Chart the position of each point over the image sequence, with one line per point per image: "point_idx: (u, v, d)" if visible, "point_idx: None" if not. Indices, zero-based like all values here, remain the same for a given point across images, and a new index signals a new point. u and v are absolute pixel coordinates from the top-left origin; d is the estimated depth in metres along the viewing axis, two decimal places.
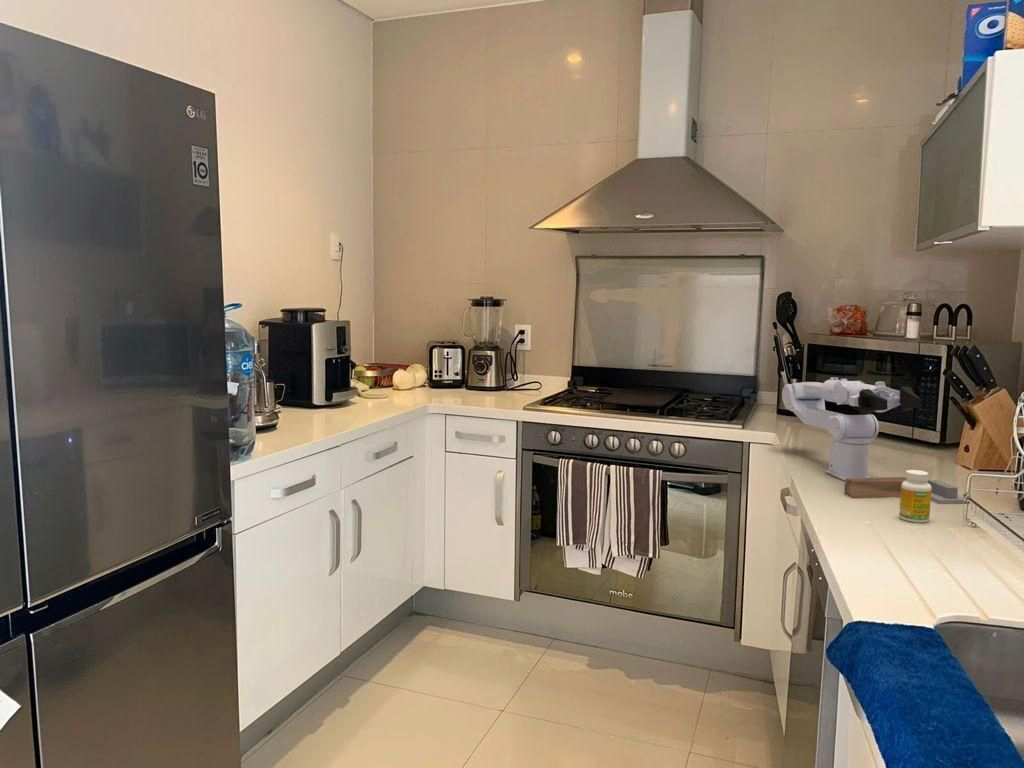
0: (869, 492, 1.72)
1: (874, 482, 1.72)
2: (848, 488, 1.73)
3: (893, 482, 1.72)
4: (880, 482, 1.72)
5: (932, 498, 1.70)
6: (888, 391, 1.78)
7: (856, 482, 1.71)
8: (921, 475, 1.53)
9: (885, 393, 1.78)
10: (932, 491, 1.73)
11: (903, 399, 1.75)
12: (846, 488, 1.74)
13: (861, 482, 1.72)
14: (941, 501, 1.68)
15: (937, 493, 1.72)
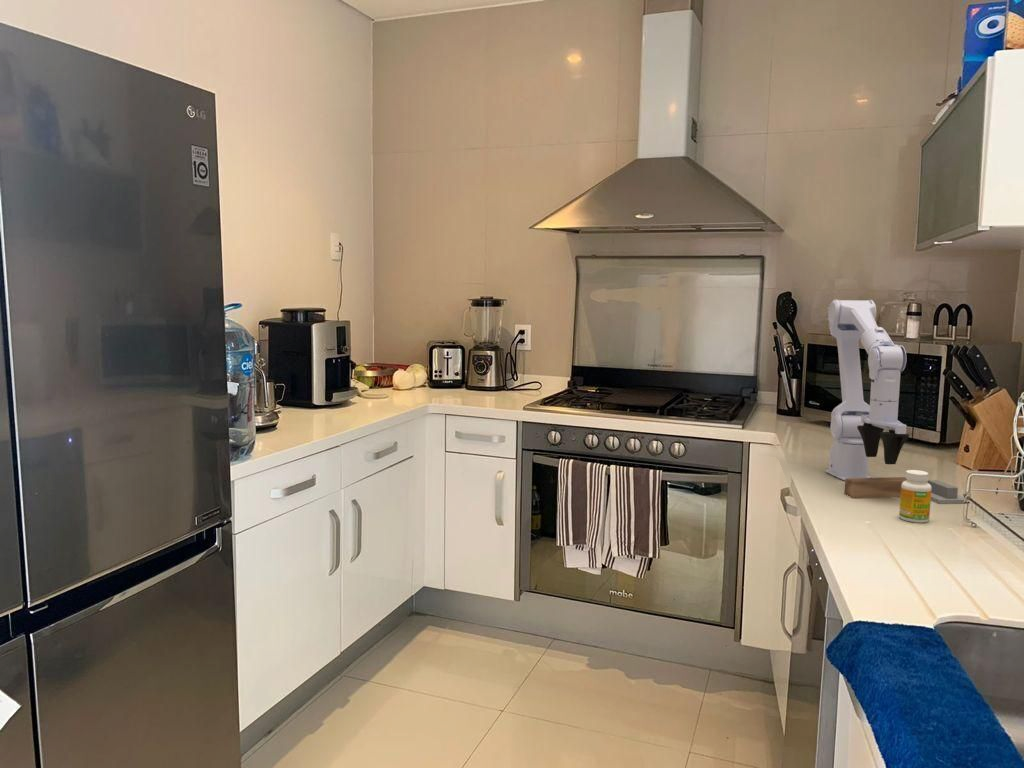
0: (869, 492, 1.72)
1: (874, 482, 1.72)
2: (848, 488, 1.73)
3: (893, 482, 1.72)
4: (880, 482, 1.72)
5: (932, 498, 1.70)
6: (879, 424, 1.70)
7: (856, 482, 1.71)
8: (921, 475, 1.53)
9: None
10: (932, 491, 1.73)
11: None
12: (846, 488, 1.74)
13: (861, 482, 1.72)
14: (941, 501, 1.68)
15: (937, 493, 1.72)
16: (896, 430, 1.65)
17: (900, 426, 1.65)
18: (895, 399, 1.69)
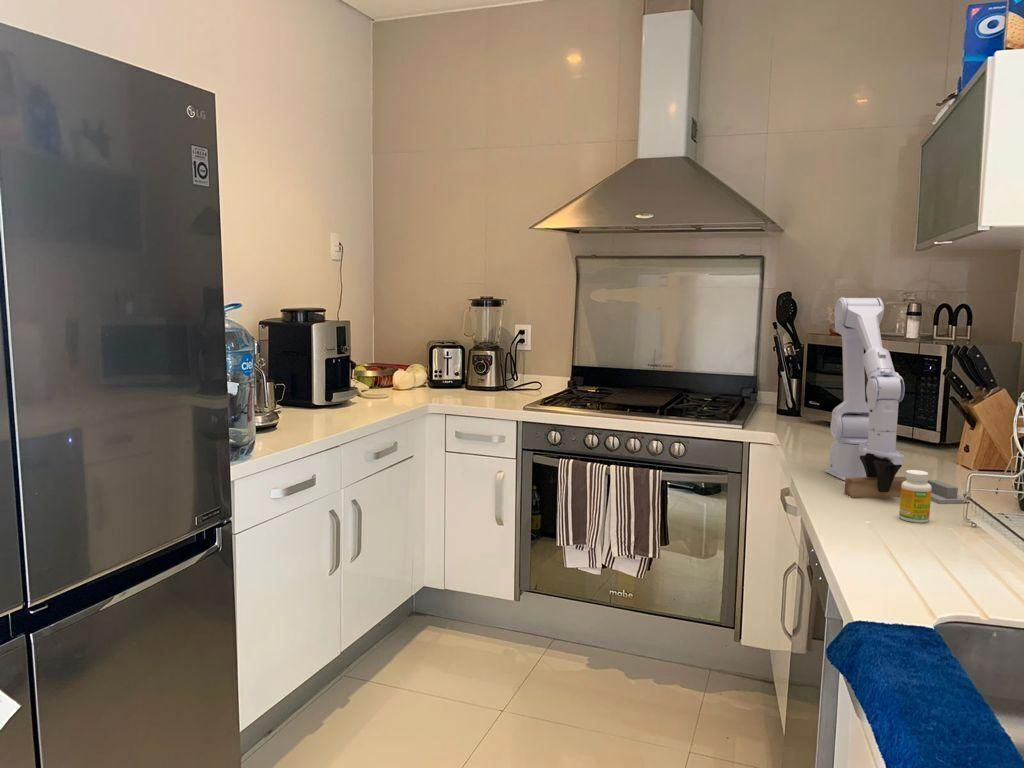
0: (869, 492, 1.72)
1: (874, 481, 1.72)
2: (848, 487, 1.73)
3: (893, 481, 1.72)
4: None
5: (932, 498, 1.70)
6: None
7: (856, 481, 1.71)
8: (921, 475, 1.53)
9: None
10: (932, 491, 1.73)
11: None
12: (846, 487, 1.74)
13: (861, 481, 1.71)
14: (941, 501, 1.68)
15: (937, 493, 1.72)
16: (894, 461, 1.66)
17: (898, 457, 1.66)
18: (893, 429, 1.70)
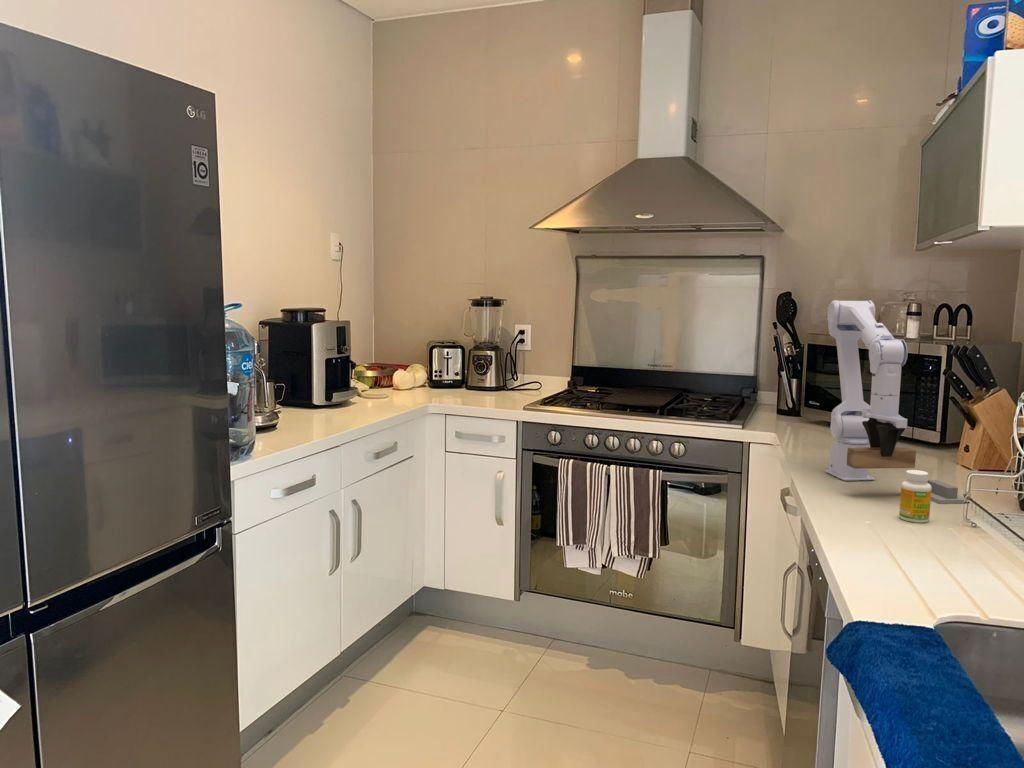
0: (871, 462, 1.71)
1: (877, 451, 1.71)
2: (850, 457, 1.73)
3: (896, 451, 1.71)
4: None
5: (932, 498, 1.70)
6: (880, 418, 1.70)
7: (858, 451, 1.71)
8: (921, 475, 1.53)
9: None
10: (932, 491, 1.73)
11: None
12: (848, 457, 1.73)
13: (863, 451, 1.71)
14: (941, 501, 1.68)
15: (937, 493, 1.72)
16: (897, 424, 1.65)
17: (901, 420, 1.65)
18: (896, 393, 1.69)
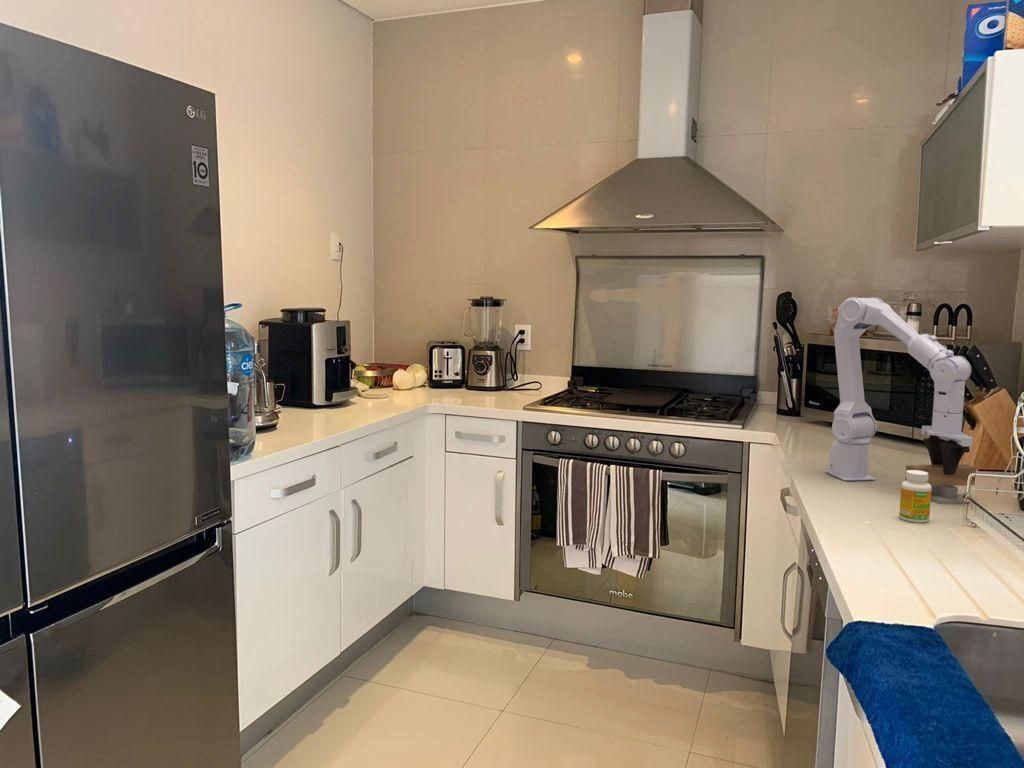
0: (931, 479, 1.70)
1: (936, 469, 1.69)
2: None
3: None
4: (942, 469, 1.70)
5: (932, 498, 1.70)
6: (943, 436, 1.69)
7: (918, 469, 1.69)
8: (921, 475, 1.53)
9: None
10: (932, 491, 1.73)
11: None
12: None
13: (923, 469, 1.69)
14: (941, 501, 1.68)
15: (937, 493, 1.72)
16: (962, 442, 1.64)
17: (966, 438, 1.63)
18: (962, 410, 1.69)
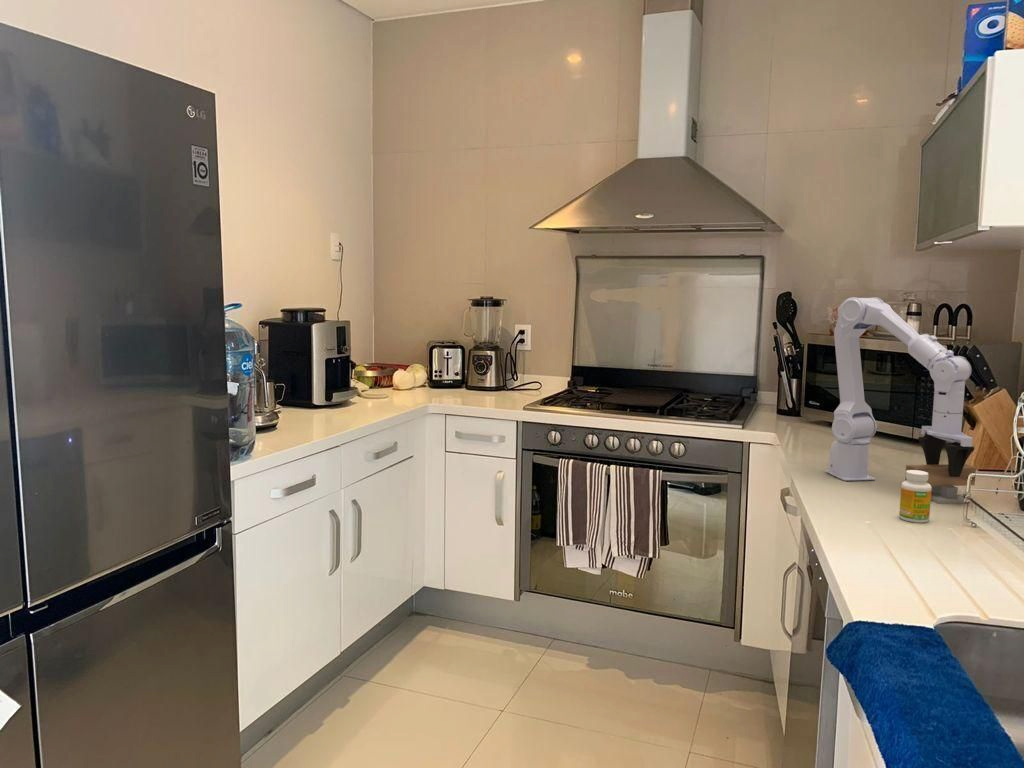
0: (931, 479, 1.70)
1: (936, 469, 1.69)
2: None
3: None
4: (942, 469, 1.70)
5: (932, 498, 1.70)
6: (943, 436, 1.69)
7: (918, 469, 1.69)
8: (921, 475, 1.53)
9: None
10: (932, 491, 1.73)
11: None
12: None
13: (923, 469, 1.69)
14: (941, 501, 1.68)
15: (937, 493, 1.72)
16: (962, 443, 1.64)
17: (966, 439, 1.63)
18: (962, 410, 1.69)
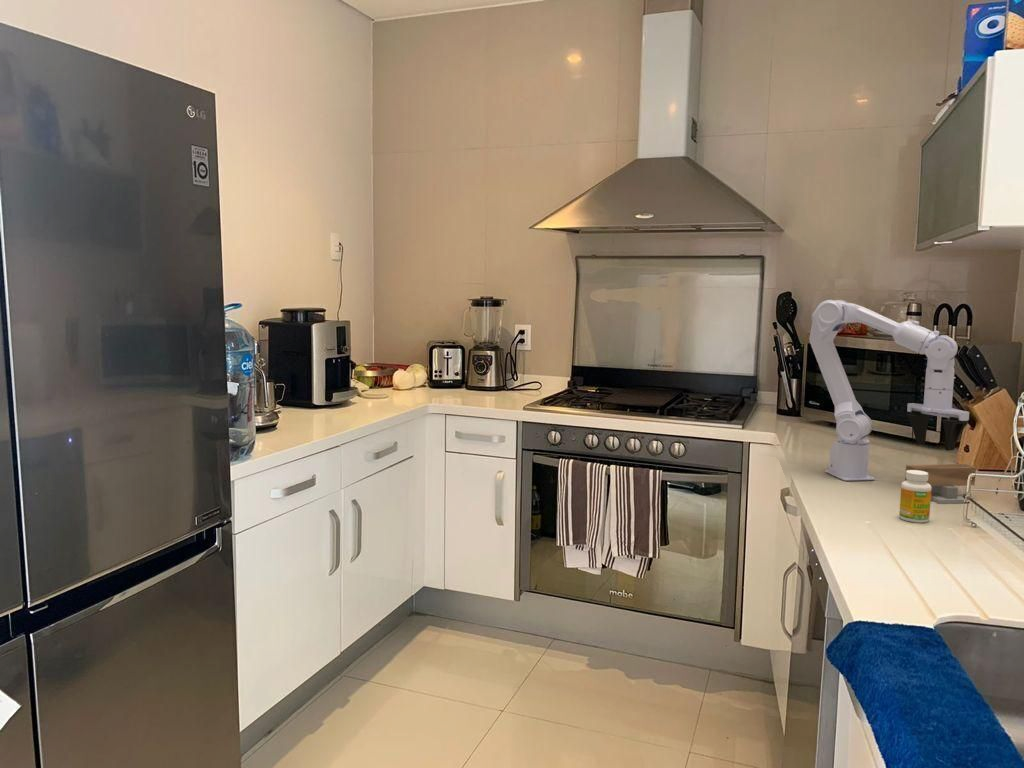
0: (931, 479, 1.70)
1: (936, 469, 1.69)
2: None
3: (955, 469, 1.70)
4: (942, 469, 1.70)
5: (932, 498, 1.70)
6: (938, 412, 1.76)
7: (918, 469, 1.69)
8: (921, 475, 1.53)
9: None
10: (932, 491, 1.73)
11: None
12: None
13: (923, 469, 1.69)
14: (941, 501, 1.68)
15: (937, 493, 1.72)
16: (961, 417, 1.72)
17: (965, 413, 1.71)
18: None
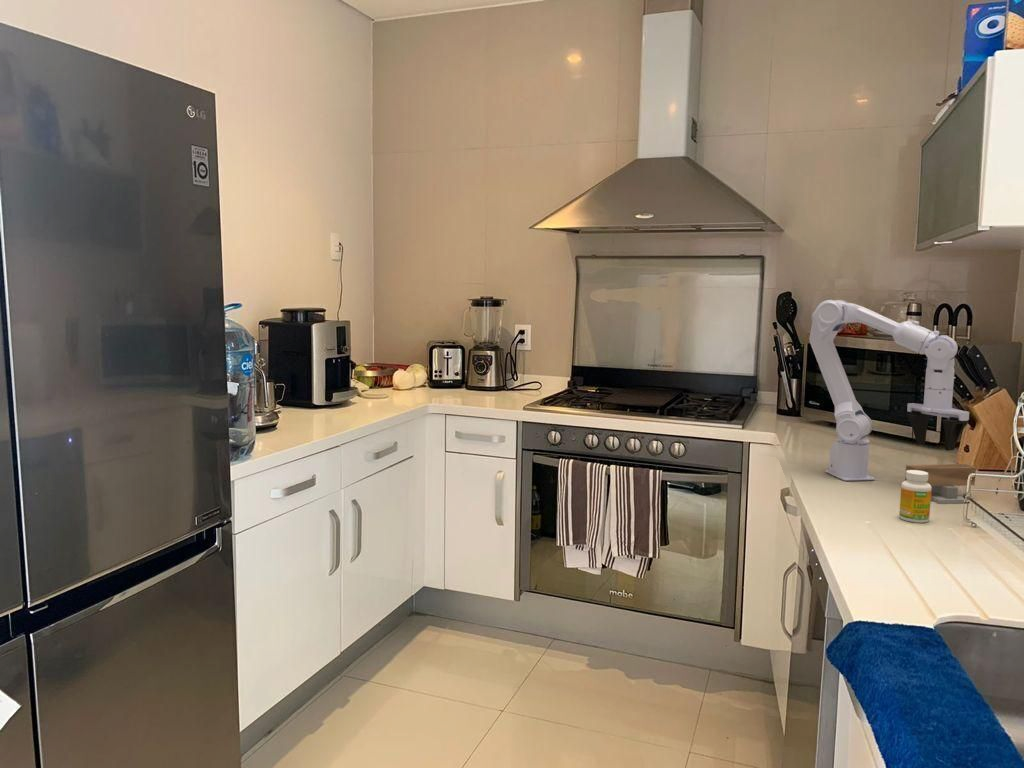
0: (931, 479, 1.70)
1: (936, 469, 1.69)
2: None
3: (955, 469, 1.70)
4: (942, 469, 1.70)
5: (932, 498, 1.70)
6: (938, 412, 1.76)
7: (918, 469, 1.69)
8: (921, 475, 1.53)
9: None
10: (932, 491, 1.73)
11: None
12: None
13: (923, 469, 1.69)
14: (941, 501, 1.68)
15: (937, 493, 1.72)
16: (961, 417, 1.72)
17: (965, 413, 1.71)
18: None
